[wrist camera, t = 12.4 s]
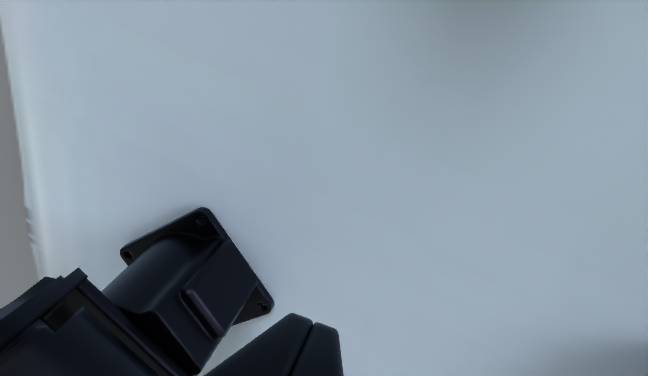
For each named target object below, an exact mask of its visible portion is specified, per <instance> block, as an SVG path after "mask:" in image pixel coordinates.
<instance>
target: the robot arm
mask: <svg viewBox="0 0 648 376" xmlns="http://www.w3.org/2000/svg"><path fill="white" fill-rule="evenodd" d="M200 216H203V217H204V218H205V220H206V221H205V220H203V219H202V218H201V217H200ZM129 252H130V253H131V254H132V255H131V254H130V253H129ZM120 255H121V257H122V259H123V260H124V261H125V263H126V264H127V265H128V267H127V268H126V269H125V270H124V271H123V272H122V273H121V274H120V275H119V276H117V277H116V278H115V279H114V280H113V281H112V282H111V283H110V284H109V285H108V286H107V287H106V288H105V289H104V290H102V291H100V290H99V289H97V288H96V287H95V286H94V285H93V284H92V283H91V282H90V281H89V280H88V279H87V277H88V276H87V275H86V274H85V273H84V272H83V271H82V270H81V269H80V268H77V269H76V270H75V271H73V272H72V273H71V274H69V275H68V276H67V277H65V278H63V277H62V276H59V277H58V278H56V279H55V278H50V277H44V278H43V279H42V280H40V281H39V282H38V283H37V284H35V285H34V286H33V287H31V288H30V289H29V290H27V291H26V292H25V293H24V294H22V295H21V296H20V297H18V298H17V299H16V300H14V301H13V302H11V303H10V304H8V305H6V306H5V307H3V308H1V309H0V376H197V375H198V374H199V373H200V372H201V371H202V369H203V367H204V366H205V364H206V363H207V361H208V360H209V358H210V357H211V355H212V353H213V352H214V350H215V349H216V347H217V346H218V344H219V343H220V341H221V339H222V338H223V337H224V336H225V335H226V333H227V332H228V330H229V329H230V327H231V326H233V325H236V324H239V323H241V322H244V321H247V320H250V319H253V318H256V317H259V316H262V315H265V314H268V313H269V312H270V311H271V310H272V308H273V306H274V301H273V299H272V297H271V296H270V294H269V293H268V291H267V290H266V289H265V287H264V286H263V284H262V283H261V281H260V280H259V279H258V277H257V276H256V274H255V273H254V272H253V270H252V269H251V267H250V266H249V264H248V263H247V262H246V260H245V259H244V257H243V256H242V254H241V253H240V252H239V250H238V249H237V247H236V246H235V245H234V243H233V242H232V240H231V239H230V237H229V236H228V235H227V233H226V232H225V230H224V229H223V227H222V226H221V225H220V223H219V222H218V220H217V219H216V218H215V216H214V215H213V213H212V212H211V211H210V210H209V209H207V208H204V207H200V208H198V209H196V210H194V211H192V212H190V213H188V214H186V215H184V216H182V217H180V218H178V219H176V220H174V221H172V222H170V223H168V224H166V225H164V226H162V227H160V228H158V229H156V230H154V231H152V232H150V233H148V234H146V235H144V236H142V237H140V238H138V239H136V240H134V241H132V242H130V243H128V244H126V245H125V246H124V247H123V248H122V249H121V250H120ZM261 302H263V303H265V304H266V305H263V304H262V303H261ZM204 376H344V375H343V367H342V359H341V350H340V342H339V334H338V331H337V330H336V329H334V328H332V327H329V326H327V325H324V324H321V323H318V322H317V323H315V324H314V325H313V322H312V320H310V319H308V318H305V317H303V316H300V315H297V314H295V313H290V314H288V315H287V316H285V317H284V318H282V319H281V320H280V321H278V322H277V323H276V324H274V325H273V326H272V327H270V328H269V329H267V330H266V331H265V332H263V333H262V334H261V335H259V336H258V337H256V338H255V339H254V340H252V341H251V342H250V343H248V344H247V345H245V346H244V347H243V348H241V349H240V350H239V351H237V352H236V353H234V354H233V355H232V356H230V357H229V358H228V359H226V360H225V361H223V362H222V363H221V364H219V365H218V366H217V367H215V368H214V369H212V370H211V371H210V372H208V373H207V374H206V375H204Z"/></svg>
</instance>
